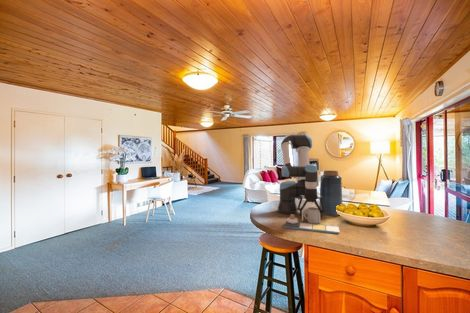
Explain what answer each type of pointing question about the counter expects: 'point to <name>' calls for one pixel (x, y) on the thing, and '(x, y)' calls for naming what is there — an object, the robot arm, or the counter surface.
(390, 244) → the counter surface
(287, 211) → the robot arm
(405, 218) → the counter surface
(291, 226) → the game board
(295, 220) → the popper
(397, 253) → the counter surface
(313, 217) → the cup
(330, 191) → the vase
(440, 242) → the counter surface
